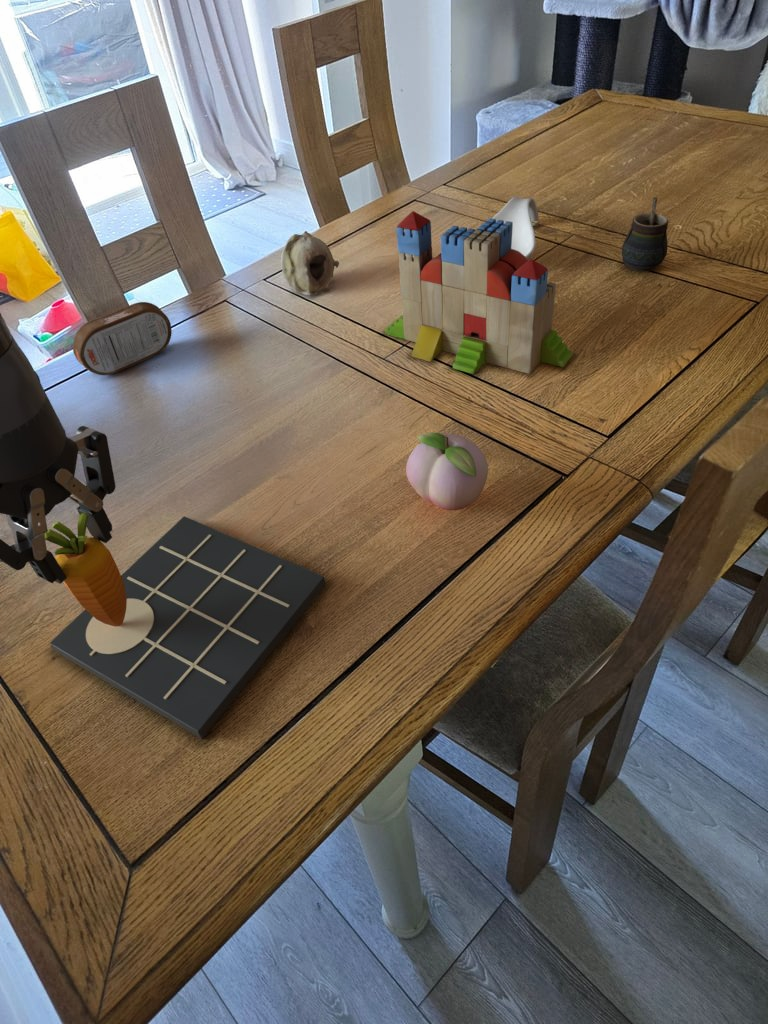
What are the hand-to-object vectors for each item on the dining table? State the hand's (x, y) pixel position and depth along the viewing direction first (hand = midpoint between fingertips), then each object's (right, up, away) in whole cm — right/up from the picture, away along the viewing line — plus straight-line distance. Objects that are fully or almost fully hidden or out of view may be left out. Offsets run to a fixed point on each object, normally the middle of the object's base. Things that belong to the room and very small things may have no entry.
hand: (79, 557), depth 63 cm
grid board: (+8, -7, +9) cm, 14 cm away
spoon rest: (+50, +51, +63) cm, 96 cm away
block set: (+41, +29, +42) cm, 66 cm away
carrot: (+1, -7, +7) cm, 11 cm away
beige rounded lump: (+15, +44, +59) cm, 75 cm away
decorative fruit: (+35, +5, +19) cm, 40 cm away
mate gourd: (+72, +46, +56) cm, 102 cm away
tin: (-12, +27, +46) cm, 55 cm away
